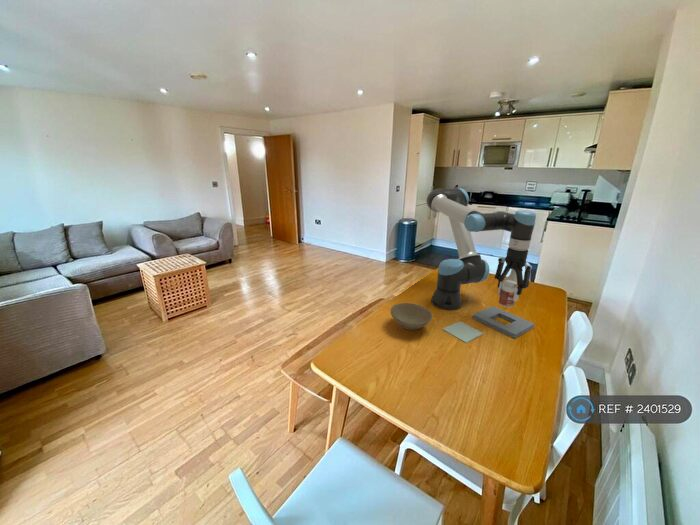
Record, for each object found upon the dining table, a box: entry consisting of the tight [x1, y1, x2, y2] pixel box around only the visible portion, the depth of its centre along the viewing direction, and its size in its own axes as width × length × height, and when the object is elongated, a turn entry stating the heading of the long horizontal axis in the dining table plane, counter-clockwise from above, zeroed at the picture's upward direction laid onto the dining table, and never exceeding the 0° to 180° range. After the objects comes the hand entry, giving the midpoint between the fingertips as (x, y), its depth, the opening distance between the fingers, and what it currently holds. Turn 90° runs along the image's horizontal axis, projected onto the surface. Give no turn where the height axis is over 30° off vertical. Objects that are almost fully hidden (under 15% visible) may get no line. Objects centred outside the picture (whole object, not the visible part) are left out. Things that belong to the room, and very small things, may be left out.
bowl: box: [389, 302, 433, 331], centre depth 124 cm, size 18×18×8 cm
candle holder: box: [506, 269, 517, 283], centre depth 156 cm, size 9×9×20 cm
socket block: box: [472, 305, 536, 340], centre depth 129 cm, size 20×16×2 cm
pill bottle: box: [498, 279, 518, 308], centre depth 124 cm, size 6×6×11 cm
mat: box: [442, 321, 484, 344], centre depth 122 cm, size 12×12×1 cm
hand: (507, 297), depth 125 cm, fingers closed on pill bottle, 6 cm apart
